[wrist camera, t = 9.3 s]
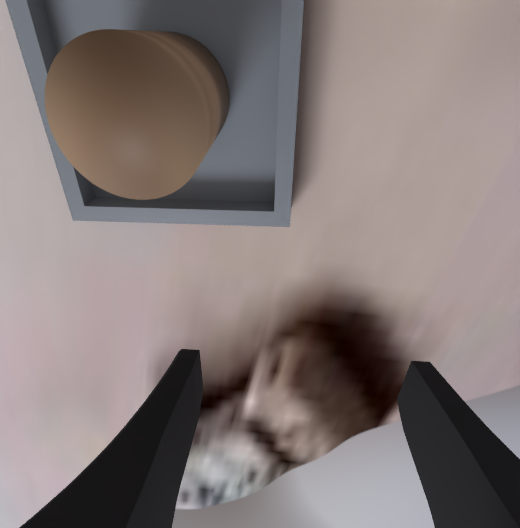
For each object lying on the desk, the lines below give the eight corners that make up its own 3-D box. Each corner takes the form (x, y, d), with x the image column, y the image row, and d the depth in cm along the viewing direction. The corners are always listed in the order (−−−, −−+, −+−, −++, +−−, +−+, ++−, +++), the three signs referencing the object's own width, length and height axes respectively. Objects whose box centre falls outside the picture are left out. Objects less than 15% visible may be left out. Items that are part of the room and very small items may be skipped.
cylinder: (229, 35, 14) (203, 35, 9) (229, 154, 17) (208, 204, 12) (112, 28, 14) (22, 23, 9) (130, 147, 17) (67, 194, 12)
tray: (304, -61, 13) (308, -74, 12) (288, 211, 19) (289, 226, 17) (15, -62, 13) (-18, -75, 12) (89, 206, 19) (72, 220, 18)
